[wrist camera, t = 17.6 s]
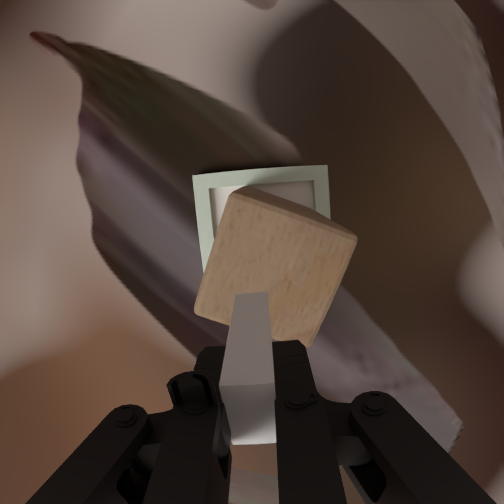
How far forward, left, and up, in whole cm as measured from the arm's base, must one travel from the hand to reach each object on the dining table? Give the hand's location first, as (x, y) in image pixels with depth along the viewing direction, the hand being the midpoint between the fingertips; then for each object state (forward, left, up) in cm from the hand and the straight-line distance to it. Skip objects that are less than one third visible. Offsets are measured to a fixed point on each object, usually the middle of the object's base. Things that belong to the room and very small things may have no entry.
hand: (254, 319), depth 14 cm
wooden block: (+1, +1, -28) cm, 28 cm away
